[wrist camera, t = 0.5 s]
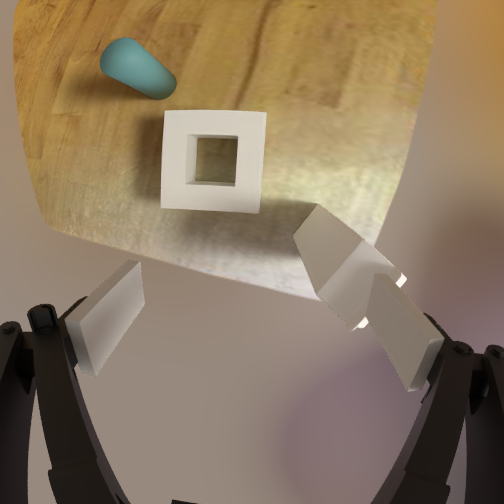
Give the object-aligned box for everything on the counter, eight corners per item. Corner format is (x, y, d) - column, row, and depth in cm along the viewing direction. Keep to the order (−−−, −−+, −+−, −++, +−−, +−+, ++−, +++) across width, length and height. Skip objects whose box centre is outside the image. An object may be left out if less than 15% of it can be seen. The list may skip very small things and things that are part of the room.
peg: (148, 72, 34) (103, 41, 21) (177, 70, 34) (142, 34, 21) (145, 100, 36) (97, 79, 22) (174, 99, 36) (135, 73, 22)
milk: (291, 236, 41) (320, 313, 20) (318, 202, 40) (376, 248, 19) (323, 260, 42) (373, 350, 21) (349, 228, 41) (424, 294, 20)
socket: (178, 117, 36) (165, 110, 31) (265, 119, 36) (266, 112, 31) (174, 201, 40) (160, 208, 34) (259, 206, 40) (259, 213, 34)
